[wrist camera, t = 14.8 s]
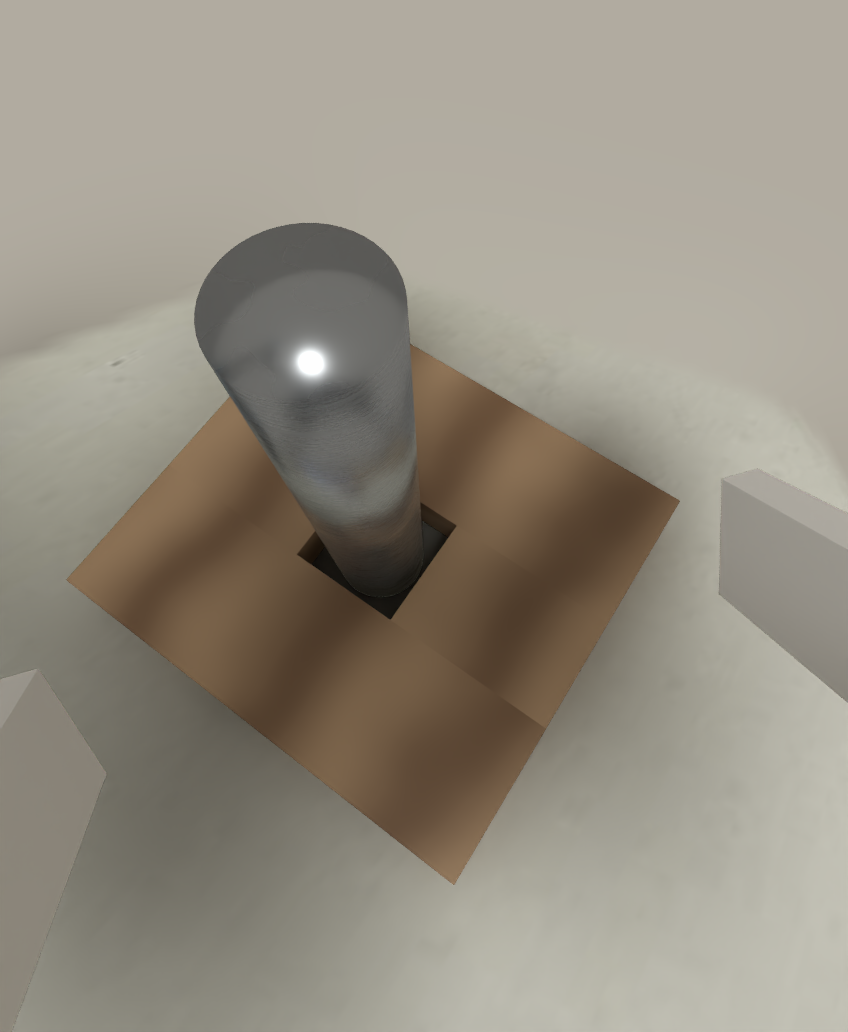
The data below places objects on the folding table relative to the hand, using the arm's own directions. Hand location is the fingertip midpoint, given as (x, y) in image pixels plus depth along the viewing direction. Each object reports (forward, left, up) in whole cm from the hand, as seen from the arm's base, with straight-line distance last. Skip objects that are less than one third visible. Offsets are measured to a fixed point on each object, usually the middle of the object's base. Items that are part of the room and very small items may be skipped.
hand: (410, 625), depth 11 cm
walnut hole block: (-5, +4, -16) cm, 17 cm away
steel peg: (-5, +4, -16) cm, 17 cm away
